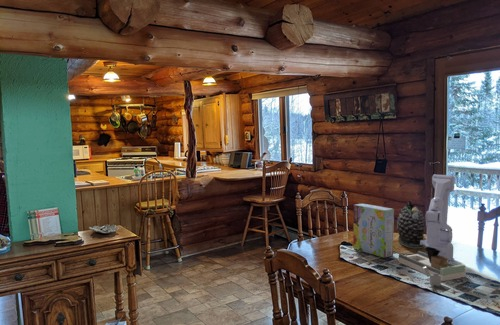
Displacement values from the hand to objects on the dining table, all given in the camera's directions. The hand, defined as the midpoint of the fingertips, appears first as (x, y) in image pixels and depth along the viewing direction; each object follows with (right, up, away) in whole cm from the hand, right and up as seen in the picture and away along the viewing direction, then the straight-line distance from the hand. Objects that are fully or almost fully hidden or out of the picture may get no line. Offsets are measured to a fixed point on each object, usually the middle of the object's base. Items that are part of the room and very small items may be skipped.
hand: (432, 262), depth 192 cm
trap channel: (0, -3, +2) cm, 4 cm away
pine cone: (+6, 0, +41) cm, 42 cm away
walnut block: (+1, -1, -4) cm, 4 cm away
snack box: (-20, -1, +28) cm, 35 cm away
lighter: (-8, -5, -17) cm, 20 cm away
